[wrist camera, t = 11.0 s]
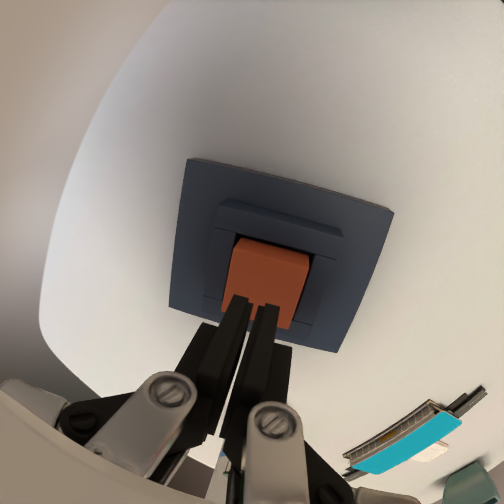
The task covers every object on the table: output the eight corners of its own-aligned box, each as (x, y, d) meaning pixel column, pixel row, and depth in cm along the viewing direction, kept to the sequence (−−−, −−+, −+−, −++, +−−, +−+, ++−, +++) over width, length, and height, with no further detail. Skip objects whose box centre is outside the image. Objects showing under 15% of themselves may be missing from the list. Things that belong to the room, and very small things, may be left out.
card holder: (376, 484, 27) (377, 493, 25) (316, 467, 26) (315, 478, 24) (500, 403, 19) (505, 413, 18) (463, 369, 18) (470, 382, 17)
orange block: (228, 295, 16) (220, 311, 15) (241, 236, 15) (233, 247, 13) (290, 312, 16) (288, 330, 14) (308, 254, 15) (309, 268, 13)
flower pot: (434, 479, 26) (441, 523, 17) (483, 451, 22) (496, 495, 14) (447, 486, 27) (453, 524, 18) (490, 462, 24) (501, 500, 15)
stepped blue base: (174, 298, 20) (156, 320, 17) (194, 158, 17) (173, 160, 14) (336, 343, 19) (338, 371, 16) (388, 208, 16) (405, 220, 13)
